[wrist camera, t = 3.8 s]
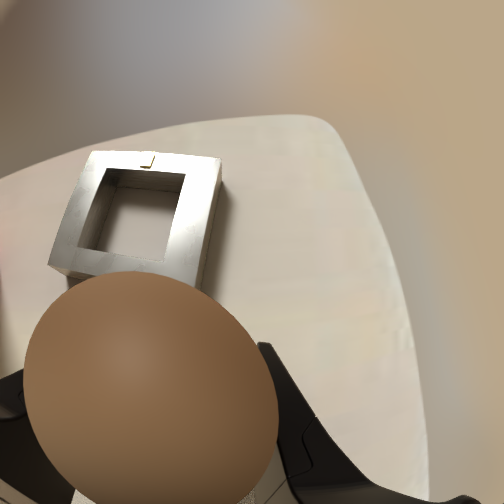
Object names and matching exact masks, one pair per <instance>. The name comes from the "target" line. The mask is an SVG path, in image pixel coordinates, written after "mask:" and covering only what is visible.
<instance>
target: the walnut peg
mask: <svg viewBox="0 0 504 504" xmlns="http://www.w3.org/2000/svg"><path fill="white" fill-rule="evenodd" d="M23 387H24V398H25V404H26V408H27V413H28V417H29V420H30V423H31V426H32V428H33V431H34V433H35V435H36V438H37V440H38V442H39V444H40V446H41V447H42V449H43V451H44V452H45V454H46V456H47V457H48V459H49V460H50V461H51V463H52V464H53V465H54V467H55V468H56V469H57V471H58V472H59V473H60V474H61V475H62V476H63V477H64V478H65V479H66V480H67V481H68V482H69V483H70V484H71V485H72V486H73V487H74V488H75V489H77V490H78V491H79V492H80V493H81V494H83V495H84V496H86V497H87V498H89V499H90V500H92V501H93V502H95V503H96V504H237V503H238V502H239V501H240V500H242V499H243V498H244V497H245V496H246V495H247V494H249V492H250V491H251V490H252V489H253V488H254V487H255V486H256V484H257V483H258V482H259V481H260V479H261V477H262V476H263V474H264V473H265V471H266V469H267V468H268V465H269V463H270V460H271V458H272V455H273V453H274V449H275V445H276V441H277V436H278V423H279V414H278V401H277V396H276V392H275V387H274V383H273V380H272V377H271V374H270V372H269V369H268V366H267V364H266V362H265V360H264V358H263V356H262V354H261V352H260V351H259V349H258V347H257V345H256V344H255V343H254V341H253V340H252V338H251V337H250V335H249V334H248V332H247V331H246V330H245V329H244V328H243V327H242V325H241V324H240V323H239V322H238V321H237V320H236V319H235V318H234V316H232V315H231V314H230V313H229V312H228V311H227V310H226V309H225V308H223V307H222V306H221V305H220V304H219V303H218V302H216V301H215V300H213V299H212V298H210V297H209V296H207V295H206V294H205V293H203V292H201V291H199V290H197V289H196V288H194V287H192V286H190V285H188V284H186V283H183V282H181V281H178V280H175V279H173V278H170V277H167V276H163V275H158V274H154V273H148V272H138V271H122V272H113V273H107V274H102V275H99V276H96V277H93V278H90V279H87V280H85V281H83V282H81V283H79V284H77V285H75V286H73V287H72V288H71V289H69V290H68V291H66V292H65V293H63V294H62V295H61V296H60V297H59V298H58V299H57V300H56V301H54V302H53V303H52V304H51V306H50V307H49V308H48V309H47V311H46V312H45V313H44V314H43V316H42V317H41V319H40V321H39V322H38V324H37V326H36V327H35V330H34V332H33V334H32V337H31V339H30V342H29V345H28V349H27V352H26V357H25V363H24V373H23Z"/></svg>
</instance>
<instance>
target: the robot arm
mask: <svg viewBox="0 0 504 504" xmlns="http://www.w3.org/2000/svg"><path fill="white" fill-rule="evenodd" d="M257 347H258V349H259V351H260V352H261V354H262V356H263V358H264V360H265V362H266V364H267V366H268V369H269V372H270V374H271V377H272V380H273V383H274V387H275V392H276V396H277V401H278V414H279V423H278V436H277V441H276V445H275V449H274V453H273V455H272V458H271V460H270V463H269V465H268V468H267V469H266V471H265V473H264V474H263V476H262V477H261V479H260V481H259V482H258V483H257V484H256V486H255V487H254V494H255V504H481V503H480V502H479V501H478V500H476V499H474V498H472V497H469V496H467V495H461V496H458V497H456V498H454V499H451V500H449V501H446V502H440V503H436V502H435V503H434V502H428V501H424V500H420V499H417V498H414V497H410V496H407V495H404V494H401V493H398V492H395V491H392V490H389V489H386V488H384V487H381V486H379V485H377V484H375V483H373V482H372V481H370V480H369V479H368V478H367V477H366V476H365V475H364V474H363V473H362V472H361V471H360V470H359V469H358V468H357V467H356V466H355V465H354V464H353V463H352V461H351V460H350V459H349V458H348V457H347V456H346V455H345V454H344V452H343V451H342V450H341V449H340V448H339V447H338V446H337V444H336V443H335V442H334V441H333V439H332V438H331V437H330V436H329V434H328V433H327V431H326V430H325V429H324V427H323V426H322V424H321V423H320V421H319V420H318V418H317V417H315V416H316V415H315V414H314V412H313V410H312V409H311V407H310V406H309V404H308V403H307V401H306V399H305V398H304V396H303V395H302V393H301V392H300V390H299V388H298V387H297V385H296V384H295V382H294V381H293V379H292V377H291V376H290V374H289V373H288V371H287V369H286V368H285V366H284V365H283V363H282V361H281V360H280V358H279V356H278V355H277V353H276V352H275V350H274V348H273V347H272V345H271V344H270V343H266V342H258V343H257ZM23 373H24V368H23V369H21V370H19V371H17V372H15V373H13V374H11V375H9V376H6V377H4V378H2V379H0V504H71V502H72V499H73V495H74V492H75V488H74V487H73V486H72V485H71V484H70V483H69V482H68V481H67V480H66V479H65V478H64V477H63V476H62V475H61V474H60V473H59V472H58V471H57V469H56V468H55V467H54V465H53V464H52V463H51V461H50V460H49V459H48V457H47V456H46V454H45V452H44V451H43V449H42V447H41V446H40V444H39V442H38V440H37V438H36V435H35V433H34V431H33V428H32V426H31V423H30V420H29V417H28V413H27V408H26V404H25V398H24V387H23ZM503 504H504V503H503Z"/></svg>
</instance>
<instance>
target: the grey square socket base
mask: <svg viewBox="0 0 504 504" xmlns="http://www.w3.org/2000/svg"><path fill="white" fill-rule="evenodd" d="M221 182H222V164H221V159H219V158H210V157H200V156H189V155H177V154H164V153H155V152H124V151H92V153H91V155H90V157H89V159H88V161H87V163H86V165H85V167H84V169H83V171H82V173H81V175H80V178H79V180H78V182H77V184H76V187H75V189H74V191H73V194H72V196H71V198H70V201H69V203H68V206H67V208H66V211H65V213H64V216H63V219H62V221H61V224H60V227H59V230H58V233H57V236H56V239H55V242H54V245H53V248H52V251H51V254H50V258H49V261H48V265H49V266H50V267H52V268H54V269H55V270H57V271H59V272H60V273H62V274H64V275H65V276H69V277H73V278H78V279H82V280H87V279H90V278H93V277H96V276H99V275H102V274H107V273H113V272H122V271H138V272H148V273H154V274H158V275H163V276H167V277H170V278H173V279H175V280H178V281H181V282H183V283H186V284H188V285H190V286H192V287H194V288H196V289H197V290H199V291H200V289H201V283H202V277H203V272H204V266H205V261H206V255H207V250H208V245H209V240H210V235H211V230H212V225H213V220H214V215H215V210H216V205H217V200H218V196H219V191H220V186H221ZM117 187H128V188H140V189H150V190H161V191H170V192H179V193H181V194H180V198H179V201H178V205H177V209H176V212H175V216H174V220H173V224H172V228H171V232H170V236H169V240H168V244H167V248H166V252H165V257H164V261H163V262H161V261H155V260H149V259H143V258H137V257H131V256H125V255H119V254H113V253H107V252H101V251H96V247H97V243H98V240H99V237H100V234H101V231H102V227H103V224H104V221H105V218H106V216H107V213H108V210H109V207H110V204H111V202H112V199H113V196H114V194H115V191H116V188H117Z"/></svg>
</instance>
